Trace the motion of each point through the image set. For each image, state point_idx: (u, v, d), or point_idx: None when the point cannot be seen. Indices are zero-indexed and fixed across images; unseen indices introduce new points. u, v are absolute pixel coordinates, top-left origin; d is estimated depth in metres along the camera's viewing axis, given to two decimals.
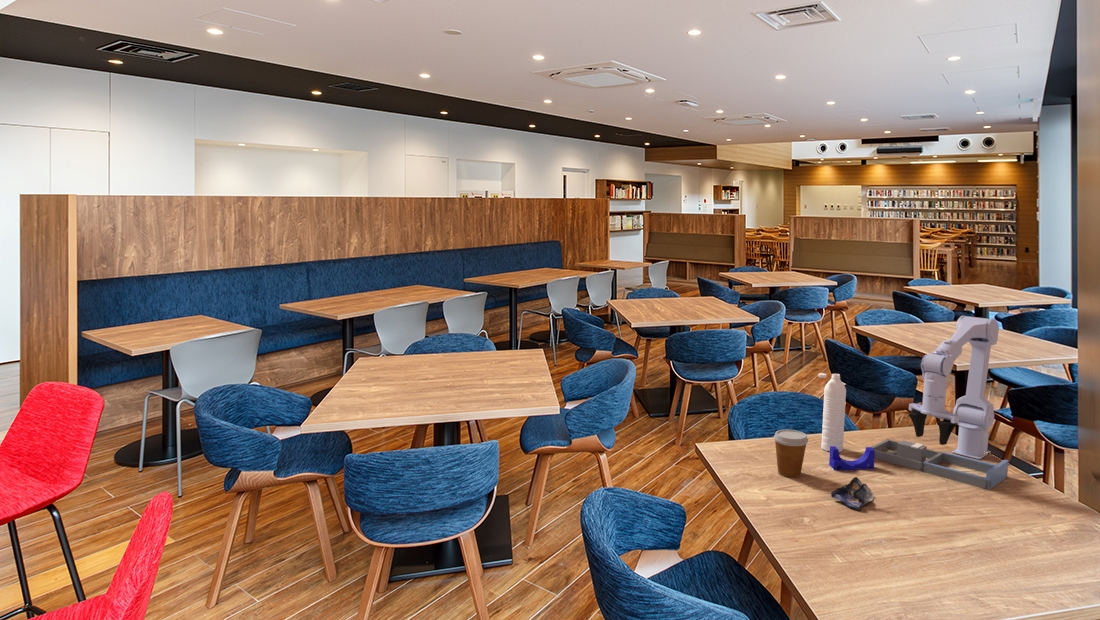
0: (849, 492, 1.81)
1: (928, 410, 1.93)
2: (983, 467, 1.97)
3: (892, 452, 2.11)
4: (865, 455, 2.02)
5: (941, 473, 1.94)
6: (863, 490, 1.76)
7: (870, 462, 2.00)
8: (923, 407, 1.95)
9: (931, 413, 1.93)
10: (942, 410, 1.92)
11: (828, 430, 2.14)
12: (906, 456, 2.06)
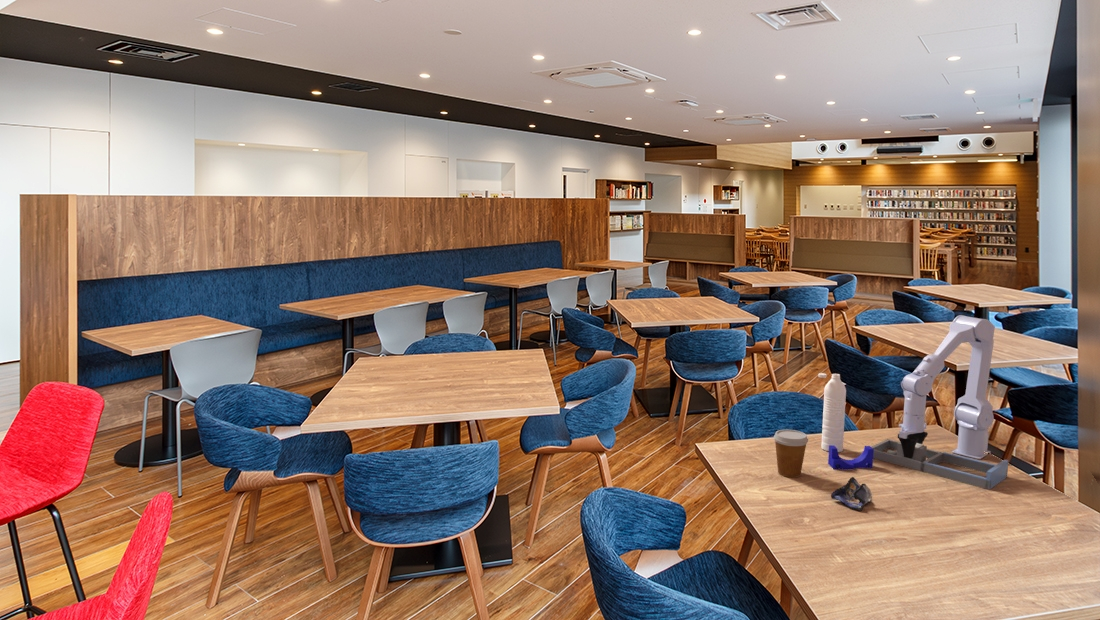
0: (847, 492, 1.81)
1: (903, 424, 2.08)
2: (983, 467, 1.97)
3: (892, 452, 2.11)
4: (863, 454, 2.03)
5: (941, 473, 1.94)
6: (863, 490, 1.76)
7: (868, 461, 2.01)
8: None
9: (901, 427, 2.07)
10: (909, 427, 2.04)
11: (828, 430, 2.14)
12: None
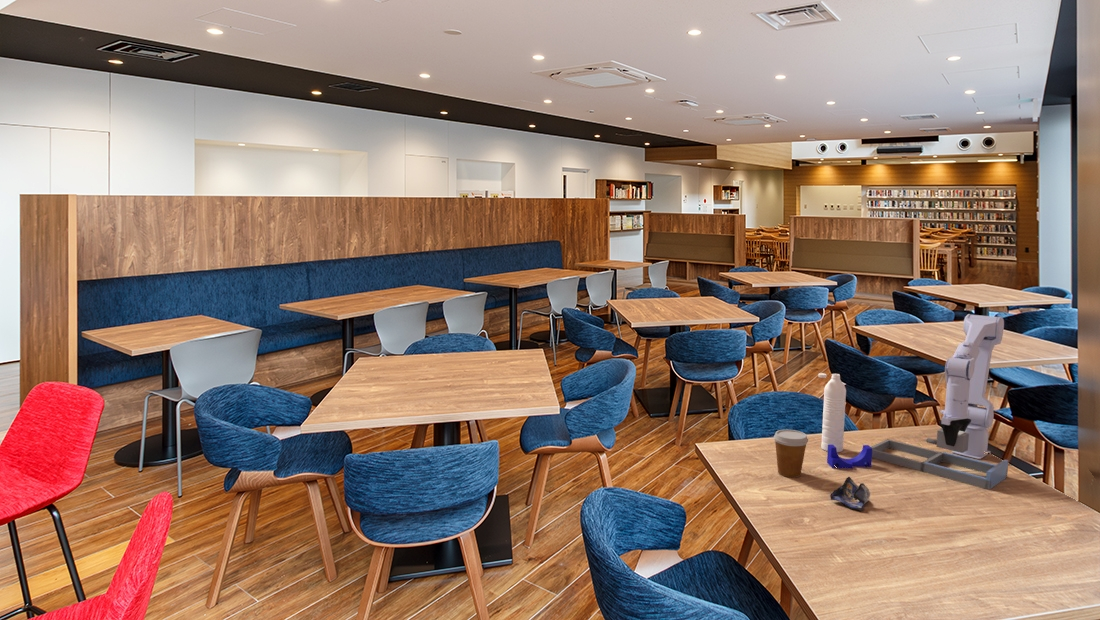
0: (845, 493, 1.81)
1: (944, 410, 1.98)
2: (983, 467, 1.97)
3: (931, 440, 2.02)
4: (862, 453, 2.04)
5: (941, 473, 1.94)
6: (861, 490, 1.76)
7: (867, 460, 2.02)
8: None
9: (943, 413, 1.97)
10: (952, 413, 1.94)
11: (828, 430, 2.14)
12: None
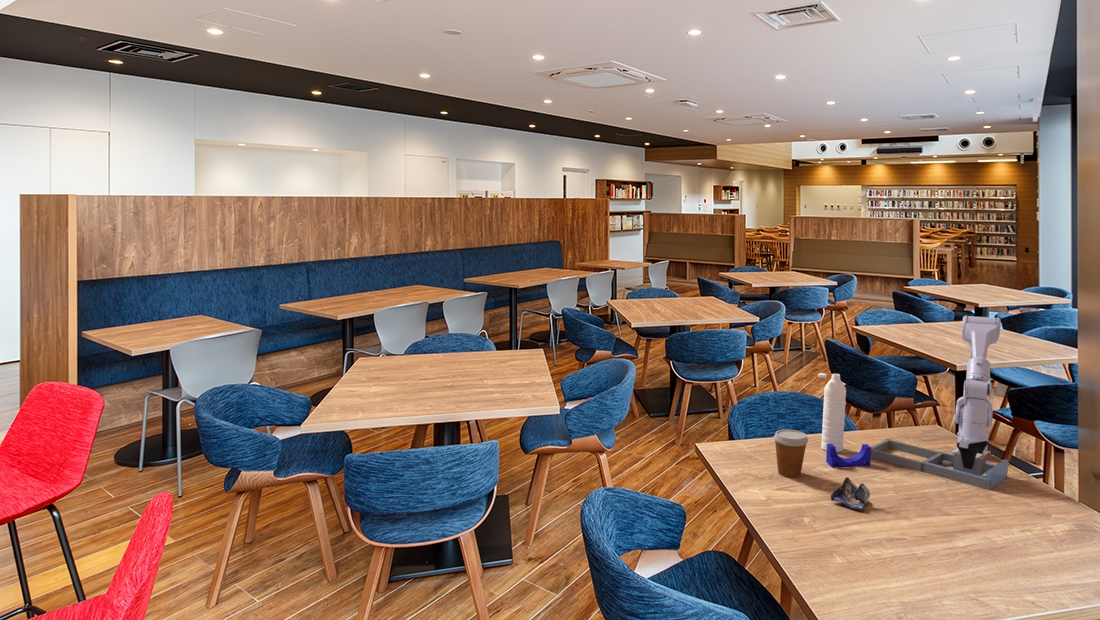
0: (844, 493, 1.81)
1: (961, 432, 1.95)
2: None
3: (948, 462, 1.99)
4: (861, 452, 2.04)
5: (941, 473, 1.94)
6: (861, 490, 1.76)
7: (866, 459, 2.03)
8: None
9: (960, 435, 1.94)
10: (969, 435, 1.91)
11: (828, 430, 2.14)
12: None
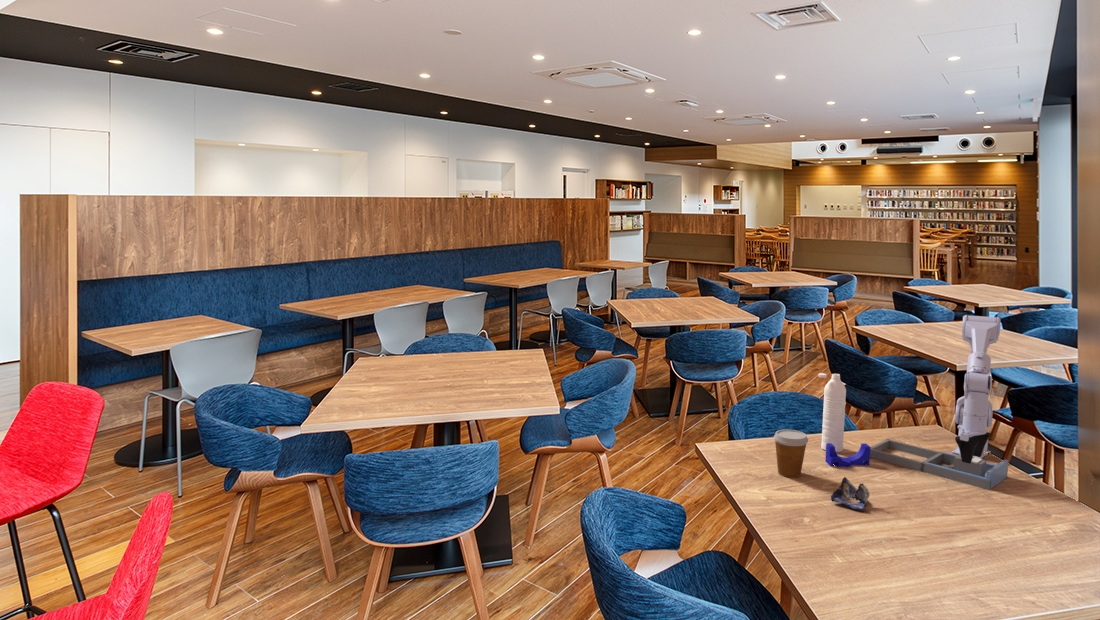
0: (843, 493, 1.81)
1: (962, 425, 1.95)
2: None
3: (948, 467, 1.99)
4: (860, 452, 2.05)
5: (941, 473, 1.94)
6: (861, 490, 1.76)
7: (865, 458, 2.03)
8: None
9: (961, 428, 1.94)
10: (970, 428, 1.91)
11: (828, 430, 2.14)
12: (964, 471, 1.94)
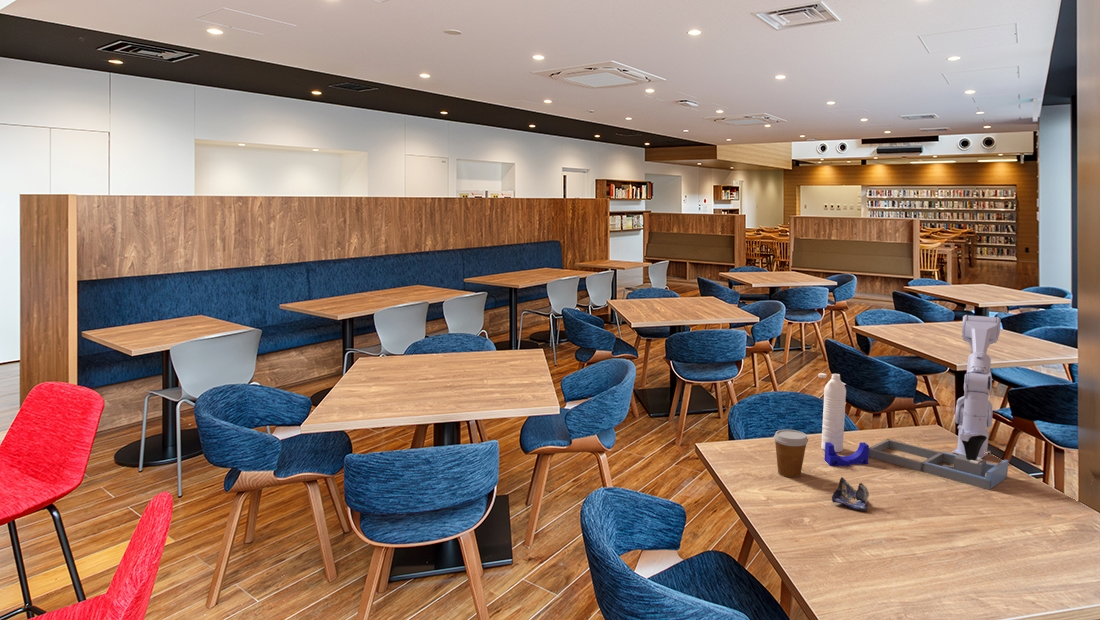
0: (841, 494, 1.81)
1: (962, 426, 1.95)
2: None
3: (948, 467, 1.99)
4: (859, 451, 2.06)
5: (941, 473, 1.94)
6: (861, 490, 1.76)
7: (864, 457, 2.04)
8: None
9: (961, 428, 1.94)
10: (970, 429, 1.91)
11: (828, 430, 2.14)
12: (964, 471, 1.94)
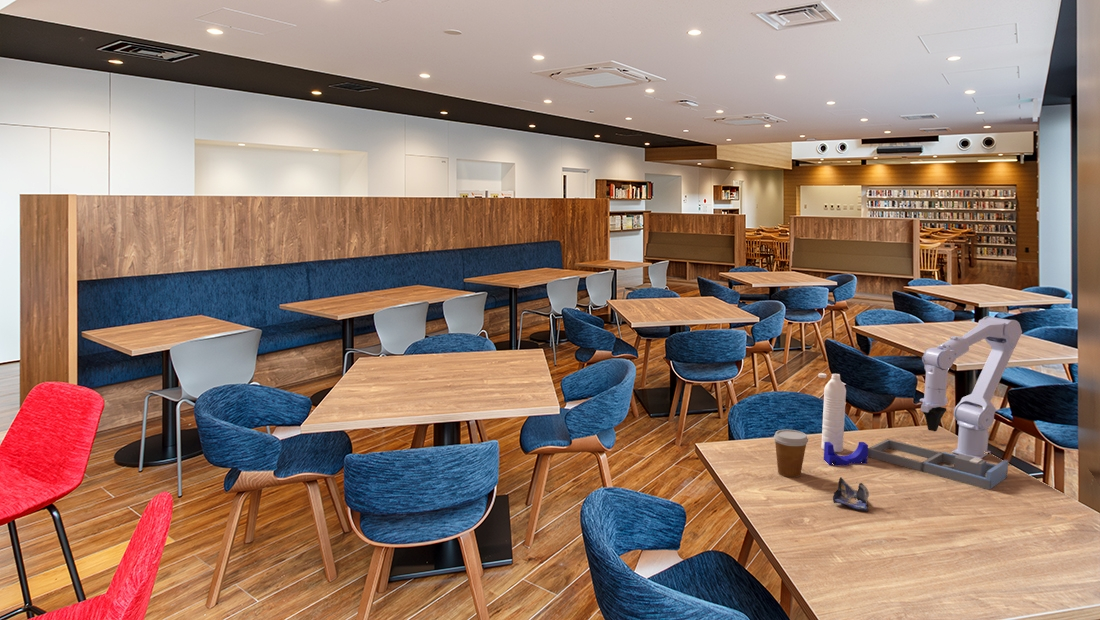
0: (841, 494, 1.80)
1: (924, 398, 2.07)
2: None
3: (948, 467, 1.99)
4: (858, 450, 2.06)
5: (941, 473, 1.94)
6: (861, 490, 1.76)
7: (863, 456, 2.05)
8: None
9: (923, 401, 2.06)
10: (930, 401, 2.03)
11: (828, 430, 2.14)
12: (964, 471, 1.94)
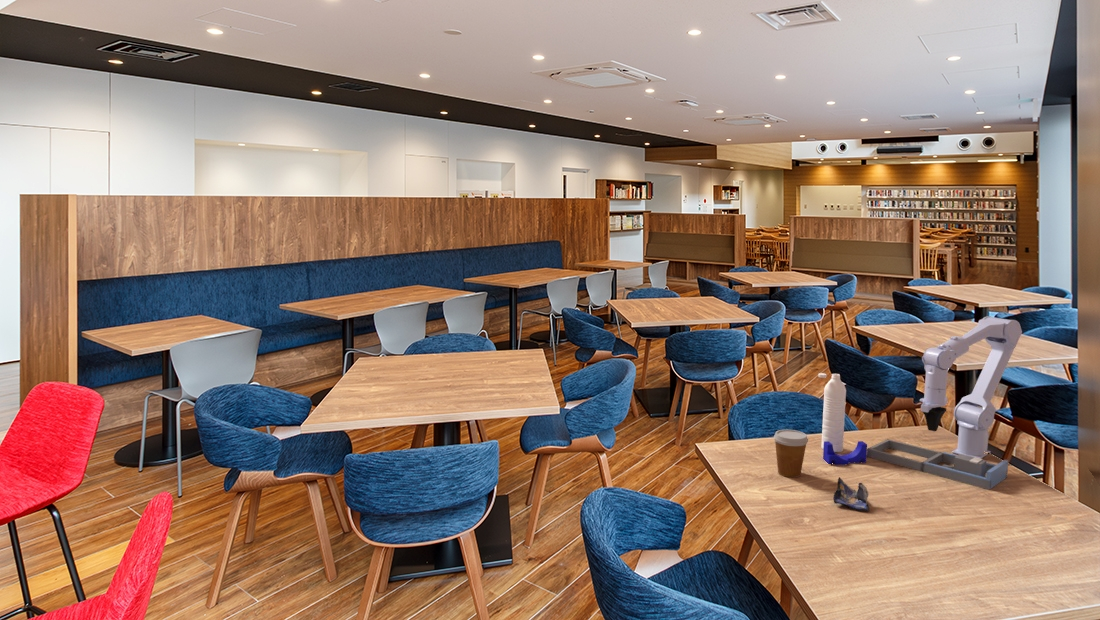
0: (840, 494, 1.80)
1: (924, 398, 2.07)
2: None
3: (948, 467, 1.99)
4: (857, 449, 2.07)
5: (941, 473, 1.94)
6: (861, 489, 1.76)
7: (862, 456, 2.05)
8: None
9: (923, 401, 2.06)
10: (930, 401, 2.03)
11: (828, 430, 2.14)
12: (964, 471, 1.94)
